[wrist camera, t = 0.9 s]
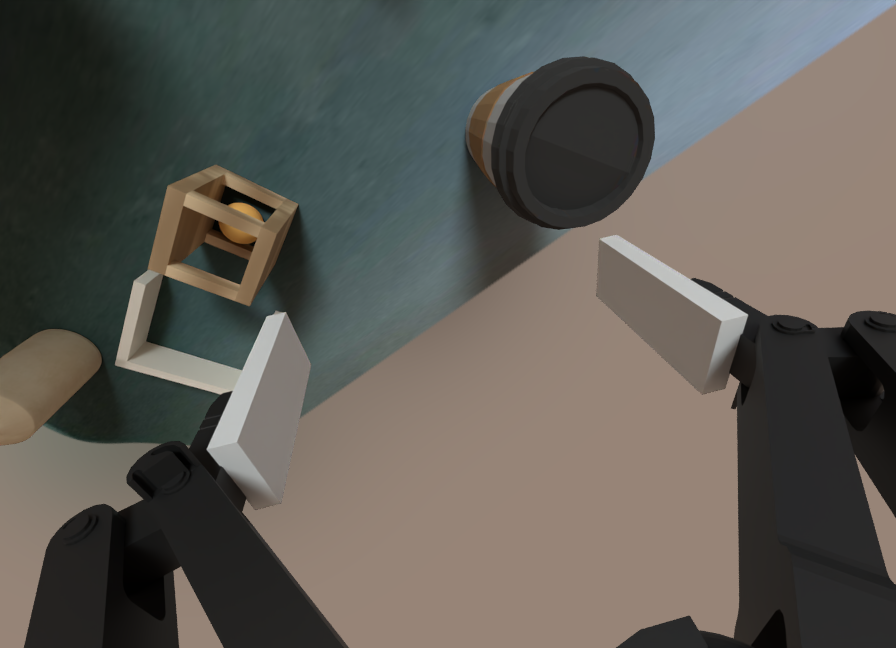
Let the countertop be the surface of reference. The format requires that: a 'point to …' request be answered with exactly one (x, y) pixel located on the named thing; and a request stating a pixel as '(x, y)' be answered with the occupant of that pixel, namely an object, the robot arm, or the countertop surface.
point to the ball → (237, 234)
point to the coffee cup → (564, 141)
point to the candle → (42, 380)
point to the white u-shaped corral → (162, 359)
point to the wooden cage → (192, 222)
